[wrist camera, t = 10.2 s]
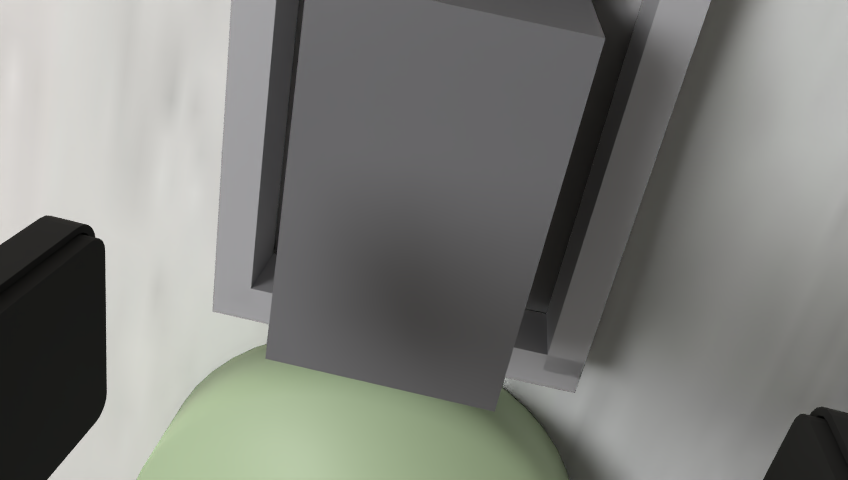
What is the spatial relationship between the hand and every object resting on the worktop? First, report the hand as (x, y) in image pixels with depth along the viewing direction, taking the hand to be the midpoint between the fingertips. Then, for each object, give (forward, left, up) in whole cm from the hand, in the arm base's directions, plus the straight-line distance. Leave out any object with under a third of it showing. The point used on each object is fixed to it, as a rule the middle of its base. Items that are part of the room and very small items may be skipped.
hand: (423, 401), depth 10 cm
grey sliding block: (+1, 0, -11) cm, 11 cm away
